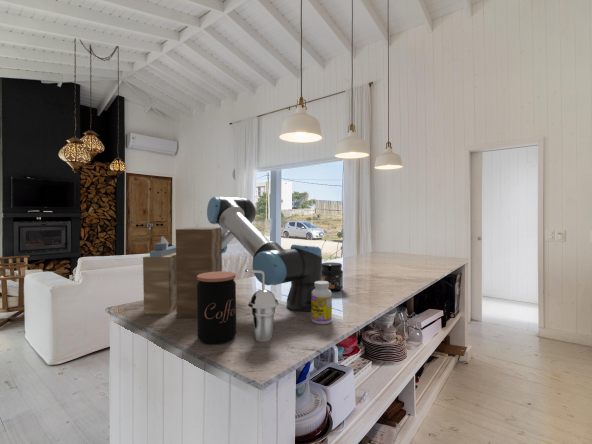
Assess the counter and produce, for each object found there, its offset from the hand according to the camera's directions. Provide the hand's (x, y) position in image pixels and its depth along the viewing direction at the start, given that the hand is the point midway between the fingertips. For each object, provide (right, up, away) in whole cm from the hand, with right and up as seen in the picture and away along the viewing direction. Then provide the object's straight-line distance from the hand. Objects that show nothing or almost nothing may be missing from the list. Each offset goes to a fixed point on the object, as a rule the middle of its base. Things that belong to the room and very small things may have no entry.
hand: (178, 239), depth 135 cm
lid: (0, -5, -12) cm, 13 cm away
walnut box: (+15, -25, -19) cm, 35 cm away
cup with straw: (+40, -26, -44) cm, 65 cm away
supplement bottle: (+58, -25, -30) cm, 70 cm away
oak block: (0, -25, -15) cm, 29 cm away
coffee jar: (+27, -26, -44) cm, 58 cm away
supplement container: (+66, -24, +13) cm, 71 cm away
